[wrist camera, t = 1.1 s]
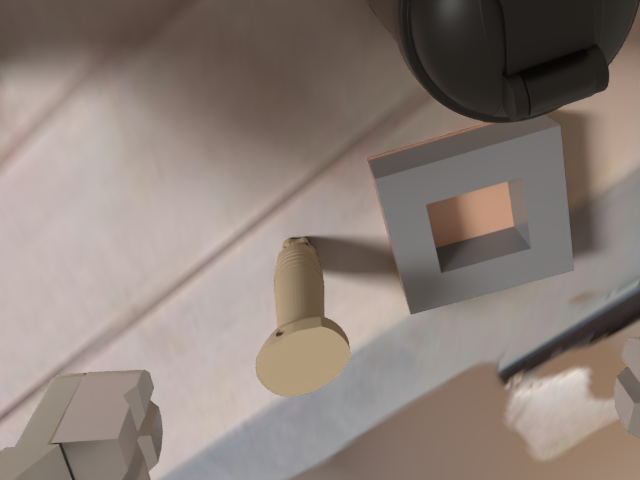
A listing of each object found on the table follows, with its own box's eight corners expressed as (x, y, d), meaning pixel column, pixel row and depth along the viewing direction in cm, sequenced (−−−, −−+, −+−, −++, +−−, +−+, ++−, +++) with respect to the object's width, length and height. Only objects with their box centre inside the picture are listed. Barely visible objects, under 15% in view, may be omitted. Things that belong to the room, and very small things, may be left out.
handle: (342, 250, 52) (364, 361, 39) (285, 288, 53) (286, 407, 40) (310, 211, 50) (321, 314, 37) (251, 251, 51) (241, 364, 38)
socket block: (401, 286, 54) (410, 314, 50) (367, 158, 48) (375, 179, 44) (552, 244, 53) (574, 270, 49) (536, 108, 47) (560, 125, 43)
